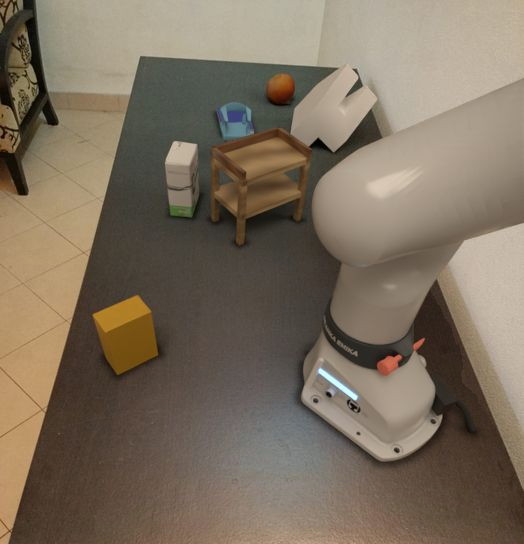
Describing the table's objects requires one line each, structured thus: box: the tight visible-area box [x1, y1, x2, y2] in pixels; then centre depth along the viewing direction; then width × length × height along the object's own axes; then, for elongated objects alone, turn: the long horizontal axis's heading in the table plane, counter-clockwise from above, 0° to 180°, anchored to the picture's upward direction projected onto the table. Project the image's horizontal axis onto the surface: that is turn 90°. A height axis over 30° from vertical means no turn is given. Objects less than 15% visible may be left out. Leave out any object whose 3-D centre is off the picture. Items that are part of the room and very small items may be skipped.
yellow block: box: [92, 294, 159, 376], centre depth 69 cm, size 4×7×10 cm, turn 127°
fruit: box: [265, 73, 296, 106], centre depth 131 cm, size 8×8×8 cm
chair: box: [219, 101, 252, 143], centre depth 107 cm, size 8×8×12 cm
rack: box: [209, 126, 313, 246], centre depth 92 cm, size 10×16×16 cm, turn 127°
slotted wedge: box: [289, 62, 378, 153], centre depth 116 cm, size 14×11×18 cm
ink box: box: [164, 140, 200, 218], centre depth 94 cm, size 9×5×12 cm, turn 175°
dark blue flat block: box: [216, 106, 255, 134], centre depth 122 cm, size 2×8×12 cm
